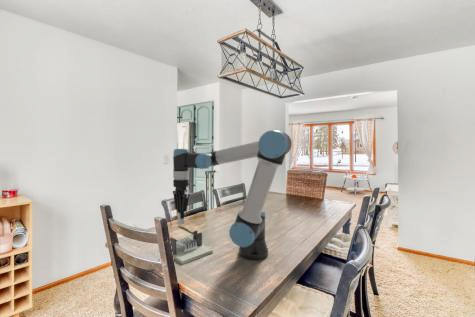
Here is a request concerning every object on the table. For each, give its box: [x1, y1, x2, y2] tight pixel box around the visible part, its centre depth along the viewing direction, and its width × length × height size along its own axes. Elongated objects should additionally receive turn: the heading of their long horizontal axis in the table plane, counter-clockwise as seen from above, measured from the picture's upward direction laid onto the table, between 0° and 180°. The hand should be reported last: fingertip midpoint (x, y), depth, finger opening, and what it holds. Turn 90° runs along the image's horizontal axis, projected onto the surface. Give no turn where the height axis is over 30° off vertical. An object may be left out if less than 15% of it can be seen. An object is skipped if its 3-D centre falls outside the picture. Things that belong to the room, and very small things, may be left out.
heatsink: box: [176, 236, 198, 253], centre depth 126 cm, size 9×8×4 cm
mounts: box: [169, 230, 203, 255], centre depth 126 cm, size 5×16×7 cm, turn 134°
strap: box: [177, 224, 198, 238], centre depth 127 cm, size 3×14×2 cm
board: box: [173, 237, 214, 265], centre depth 126 cm, size 22×18×2 cm
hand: (180, 224), depth 123 cm, fingers closed
